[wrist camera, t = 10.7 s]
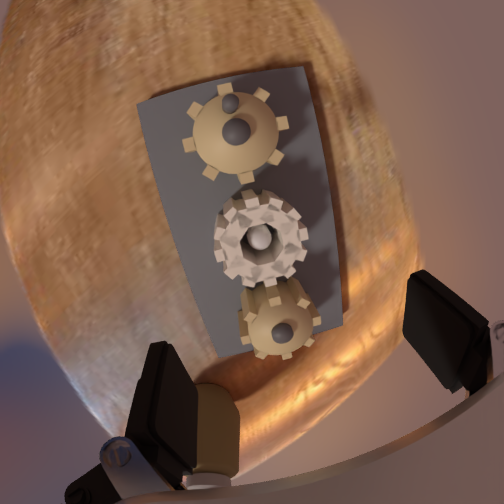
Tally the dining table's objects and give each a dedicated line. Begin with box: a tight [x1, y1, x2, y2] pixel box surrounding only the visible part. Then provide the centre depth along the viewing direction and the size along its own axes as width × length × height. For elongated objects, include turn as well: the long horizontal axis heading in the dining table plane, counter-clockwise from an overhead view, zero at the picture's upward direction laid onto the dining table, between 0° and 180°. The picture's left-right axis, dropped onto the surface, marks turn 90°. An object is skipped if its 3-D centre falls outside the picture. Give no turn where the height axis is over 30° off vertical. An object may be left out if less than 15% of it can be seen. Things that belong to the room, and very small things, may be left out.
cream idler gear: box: [214, 189, 309, 287], centre depth 21 cm, size 7×7×4 cm
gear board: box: [136, 66, 343, 360], centre depth 21 cm, size 26×14×8 cm, turn 13°
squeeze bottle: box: [185, 383, 240, 490], centre depth 24 cm, size 8×8×18 cm
